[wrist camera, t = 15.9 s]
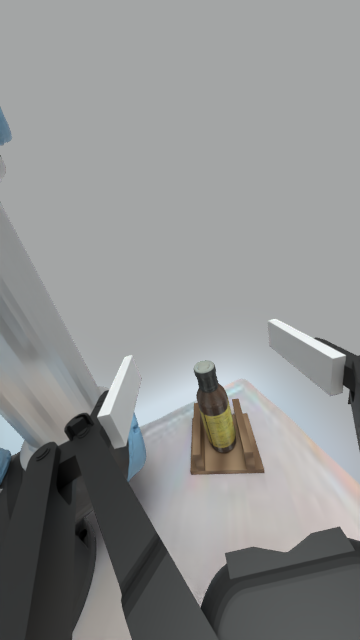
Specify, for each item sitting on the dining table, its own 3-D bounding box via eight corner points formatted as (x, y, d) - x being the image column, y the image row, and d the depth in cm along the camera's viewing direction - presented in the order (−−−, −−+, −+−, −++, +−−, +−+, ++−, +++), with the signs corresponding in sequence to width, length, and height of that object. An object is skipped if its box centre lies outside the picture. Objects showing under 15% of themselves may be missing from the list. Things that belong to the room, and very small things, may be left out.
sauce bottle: (242, 437, 37) (229, 363, 31) (225, 461, 34) (207, 383, 28) (219, 421, 42) (203, 353, 36) (202, 440, 39) (182, 369, 33)
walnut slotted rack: (191, 474, 34) (184, 455, 32) (193, 420, 45) (188, 403, 44) (264, 472, 32) (261, 451, 30) (247, 416, 43) (244, 398, 41)
